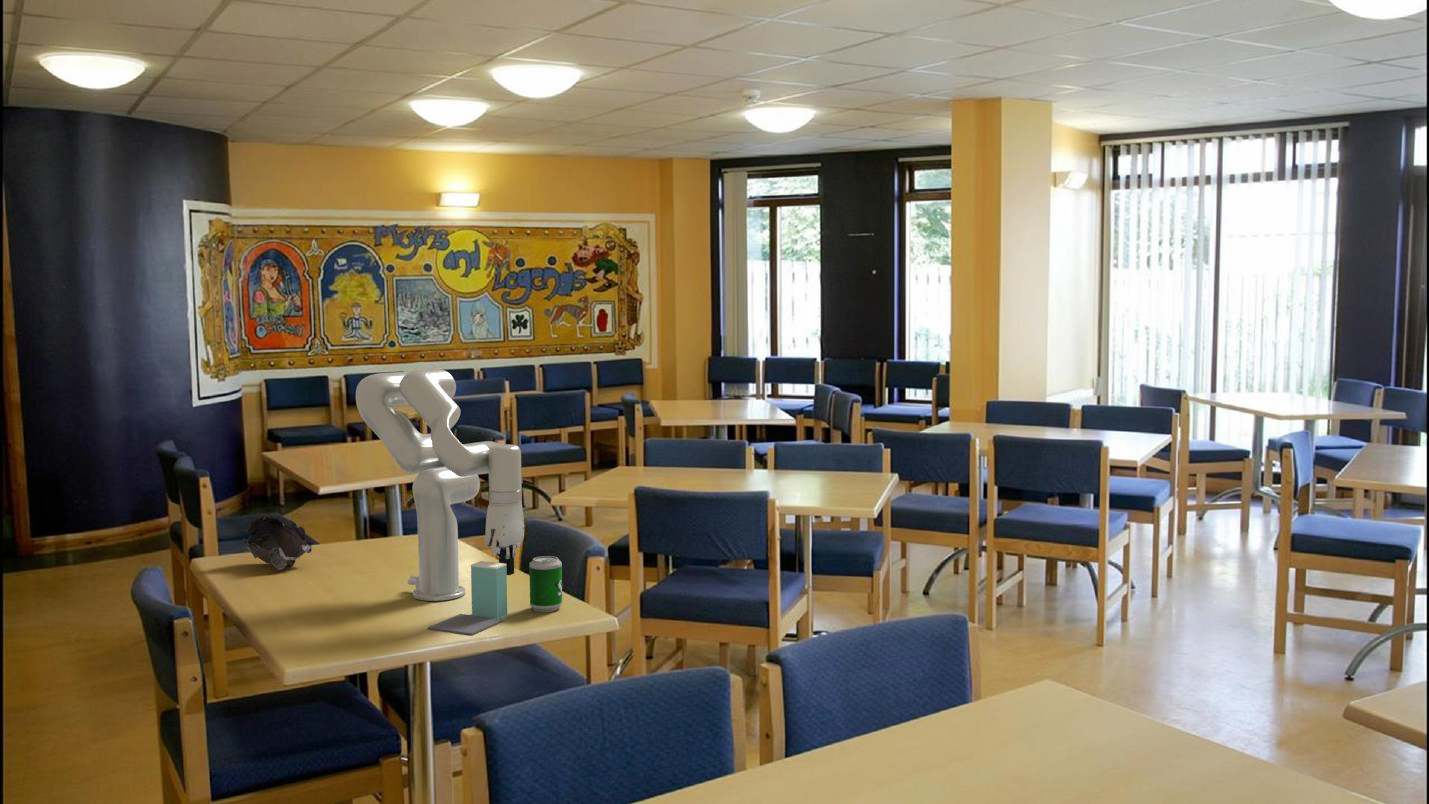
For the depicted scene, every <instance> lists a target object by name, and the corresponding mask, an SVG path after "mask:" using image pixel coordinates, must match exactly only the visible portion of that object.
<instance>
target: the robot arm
mask: <svg viewBox="0 0 1429 804" xmlns="http://www.w3.org/2000/svg"><path fill="white" fill-rule="evenodd" d="M456 390H457V384H456V381H455V378H454V377H453V376H452V374H450V372H448V371H447V370H444V369H443V368H434V369H431V368H430V369H417V370H412V371H411V370H410V371H395V372H381V373H380V372H379V373H374V374H370V375H367V376H366V377H364V378H362V379H361V380H360V381H359V382H358V384H357V386H356V389H355V403H356V407H357V410H358V413H359V415H360V417H361V418H362V419H363V422H364V423H365V424H366V425H367V427H369V428H370V429H371V431H373V433H374V434H375V435H376V436H377V437H378V438H379V440H380V442H381V443H382V444H383V445H384V447H385V448H386V450H387V451H388V453H389V454H390V456H391V457H392V458H393V459H394V461H395V462H396V463H397V465H398V466H399V467H400V469H401V470H402V471H403V472H404V473H406V474H410V475H416V474H418V475H416V477H415V478H414V480H413V482H412V483H413V484H412V494H413V500H414V504H415V510H416V520H417V544H418V545H417V546H418V547H417V548H418V549H417V550H418V553H417V555H418V575H415V574H412V575H410V577H409V579H408V580H407V584H408V585H410V586H411V585H412V586H415V589H414V590H413V591H412V597H413V598H414V599H416V600H420V601H427V602H428V601H429V602H438V601H439V602H440V601H450V600H455V599H458V598H460V597H463V596H465V594H466V588H465V587H464V586H463V585H462V586H461V585H460V582H459V578H460V577H459V573H460V572H459V532H458V531H459V530H458V528H459V527H458V521H457V517H456V515H455V512H454V511H453V509H452V507H451V505H455V504H459V503H464V502H467V501H470V500H473V499H474V498H475V497H476V496H477V495H478V493H479V490H480V488H481V480H480V477H479V475H484V474H488V495H489V496H488V500H489V501H488V502H489V503H488V505H487V511H486V518H485V533H484V535H485V536H484V537H485V538H484V539H485V545H486V547H491V549H490V552H491V554H496V557H497V559H498V563H504V564H506V568H507V576H511V575H515V557H516V554H517V553H516V552H517V548H519V547H520V546H521V545H522V541H523V540H524V538H525V517H524V509H523V504H522V503H523V502H522V501H523V500H522V499H523V498H522V494H523V493H522V489H523V488H522V451H521V448H520V447H519V446H518V445H515V444H502V443H498V442H496V441H489V440H488V441H487V440H486V441H479V442H472V443H464V444H462V442H460V441H459V439H458V438H457V437H456V436H455V435H454V434H453V432H452V430H451V429H452V428H453V427H454V426H455V425H456V424H457V422H458V420H459V419H460V416H461V408H460V407H459V405H458V404H457V403H456V402H455V401H454V400H453V399H452V398H454V396H455V395H456V392H457V391H456ZM407 405H409V406H410V407H411V408H412V409H413V411H414V412H415V413H417V414H418V416H420V418H421V419H422V420H423V422H424V423H425V424H426V425H427V426H428V427H429V429H430V433H421V432H419V431H418V430H417V428H416V427H415V426H414V425H413V424H412V422H411V421H410V419H409V418H408V417H407V416H406V415H404V414H402V413H401V412H400V411H398V410H396V409H395V408H394V407H396V406H407Z"/></svg>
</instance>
